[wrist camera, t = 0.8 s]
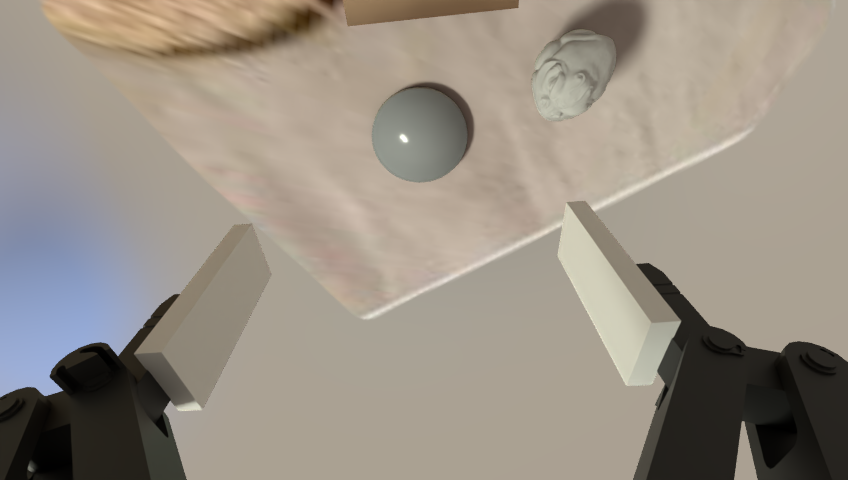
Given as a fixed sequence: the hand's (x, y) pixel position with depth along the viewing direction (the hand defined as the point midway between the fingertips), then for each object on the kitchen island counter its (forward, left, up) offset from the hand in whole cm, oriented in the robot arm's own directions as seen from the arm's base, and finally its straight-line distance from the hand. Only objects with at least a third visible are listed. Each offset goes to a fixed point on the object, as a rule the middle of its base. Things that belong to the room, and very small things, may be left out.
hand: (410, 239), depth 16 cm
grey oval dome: (+3, 0, -22) cm, 22 cm away
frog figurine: (-2, +13, -22) cm, 26 cm away
